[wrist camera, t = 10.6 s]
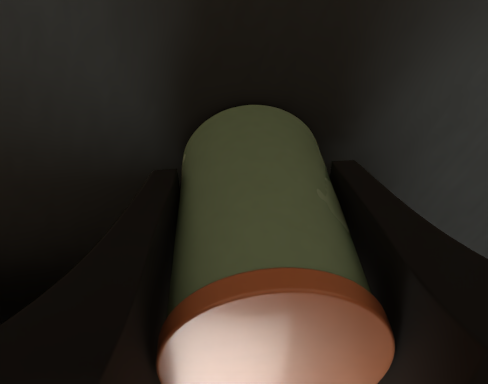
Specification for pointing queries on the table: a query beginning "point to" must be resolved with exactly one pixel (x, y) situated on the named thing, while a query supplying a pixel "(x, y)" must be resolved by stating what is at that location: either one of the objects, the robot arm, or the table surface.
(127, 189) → the table surface
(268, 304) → the sage tin
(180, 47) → the table surface
